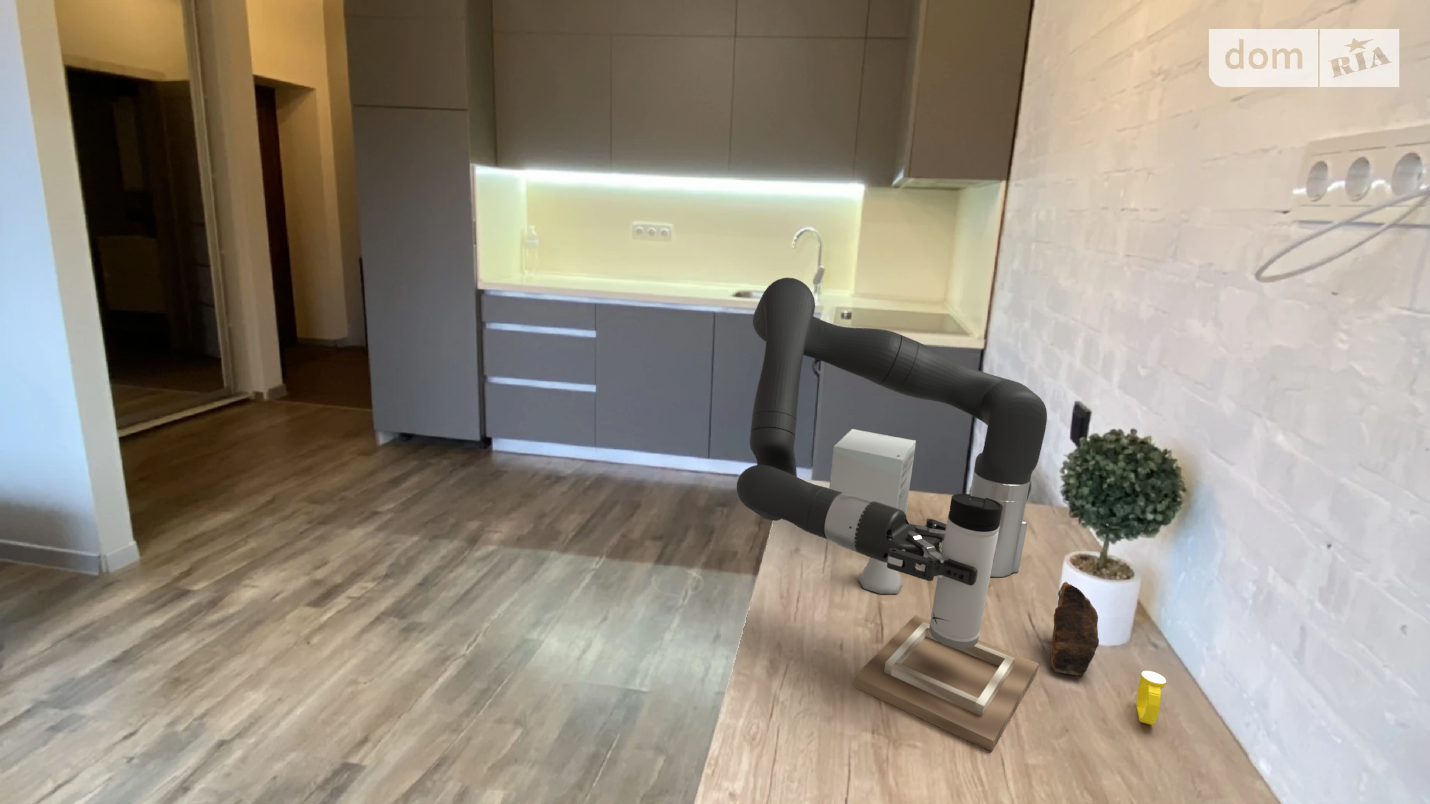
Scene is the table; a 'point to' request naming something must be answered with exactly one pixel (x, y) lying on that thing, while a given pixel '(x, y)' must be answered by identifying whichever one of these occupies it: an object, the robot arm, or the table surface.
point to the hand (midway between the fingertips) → (984, 567)
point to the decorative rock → (1073, 632)
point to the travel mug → (971, 545)
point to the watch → (1149, 696)
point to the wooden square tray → (949, 682)
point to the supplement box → (873, 467)
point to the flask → (880, 578)
